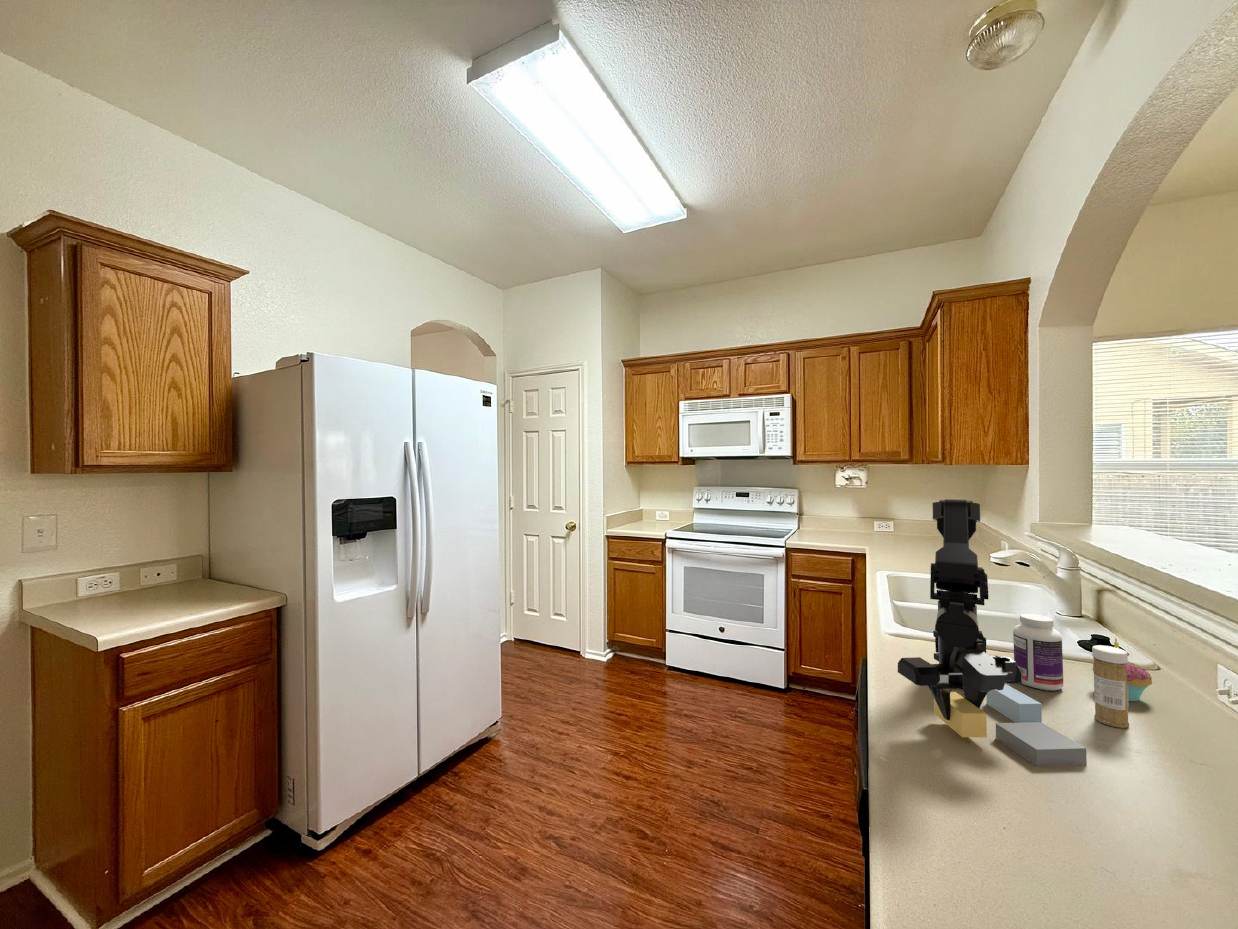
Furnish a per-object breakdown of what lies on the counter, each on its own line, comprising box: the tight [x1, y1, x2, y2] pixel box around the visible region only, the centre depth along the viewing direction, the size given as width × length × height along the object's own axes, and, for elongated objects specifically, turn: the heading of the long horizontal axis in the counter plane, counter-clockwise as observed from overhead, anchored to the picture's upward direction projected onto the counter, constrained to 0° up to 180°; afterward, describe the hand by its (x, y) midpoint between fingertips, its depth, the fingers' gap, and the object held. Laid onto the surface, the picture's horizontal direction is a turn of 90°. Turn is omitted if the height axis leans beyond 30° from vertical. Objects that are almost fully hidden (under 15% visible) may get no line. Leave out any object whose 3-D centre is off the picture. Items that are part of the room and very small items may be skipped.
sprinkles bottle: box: [1091, 644, 1130, 729], centre depth 89 cm, size 5×5×14 cm
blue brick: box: [986, 684, 1043, 723], centre depth 93 cm, size 8×4×4 cm, turn 0°
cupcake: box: [1092, 638, 1153, 702], centre depth 100 cm, size 9×8×12 cm
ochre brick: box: [933, 691, 988, 738], centre depth 86 cm, size 8×4×4 cm, turn 177°
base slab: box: [995, 722, 1088, 768], centre depth 80 cm, size 8×8×3 cm
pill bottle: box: [1012, 613, 1064, 692], centre depth 105 cm, size 8×8×14 cm
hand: (958, 718), depth 86 cm, fingers closed on ochre brick, 4 cm apart
